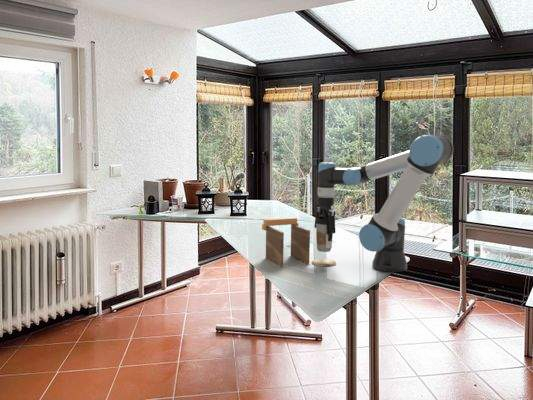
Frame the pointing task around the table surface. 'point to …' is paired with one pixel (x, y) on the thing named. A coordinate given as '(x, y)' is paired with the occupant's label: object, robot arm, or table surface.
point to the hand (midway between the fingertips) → (324, 245)
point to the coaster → (323, 262)
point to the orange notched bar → (279, 222)
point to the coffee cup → (321, 234)
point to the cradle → (298, 244)
